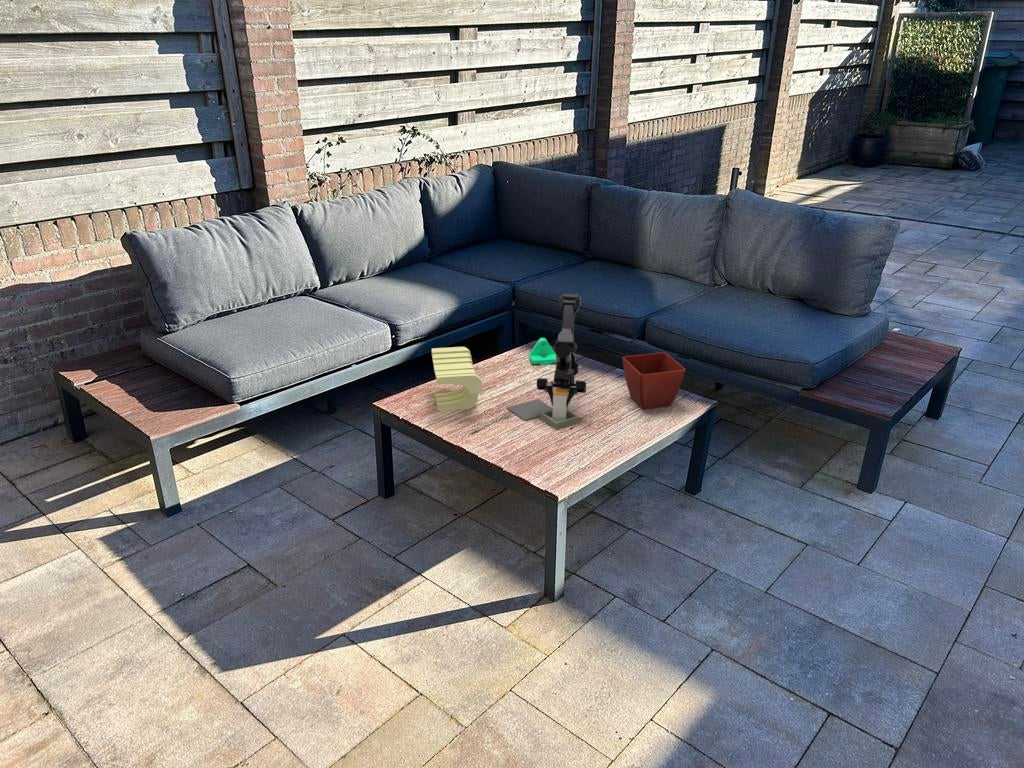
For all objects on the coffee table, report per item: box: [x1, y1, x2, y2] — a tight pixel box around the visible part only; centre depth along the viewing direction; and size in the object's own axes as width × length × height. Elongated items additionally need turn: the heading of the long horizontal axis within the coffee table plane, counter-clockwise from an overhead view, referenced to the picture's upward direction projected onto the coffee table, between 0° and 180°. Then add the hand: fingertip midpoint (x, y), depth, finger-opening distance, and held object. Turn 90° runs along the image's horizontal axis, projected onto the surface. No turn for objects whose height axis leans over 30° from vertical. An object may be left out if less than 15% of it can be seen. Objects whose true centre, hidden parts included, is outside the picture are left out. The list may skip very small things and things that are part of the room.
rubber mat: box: [506, 398, 553, 422], centre depth 316 cm, size 15×13×1 cm
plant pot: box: [622, 352, 686, 410], centre depth 322 cm, size 19×19×17 cm
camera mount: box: [528, 337, 557, 366], centre depth 361 cm, size 12×8×10 cm, turn 102°
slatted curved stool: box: [431, 346, 482, 412], centre depth 319 cm, size 30×16×18 cm, turn 10°
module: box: [551, 387, 568, 422], centre depth 306 cm, size 4×5×12 cm
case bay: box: [539, 409, 580, 430], centre depth 308 cm, size 11×11×2 cm
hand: (559, 406), depth 305 cm, fingers closed on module, 5 cm apart
